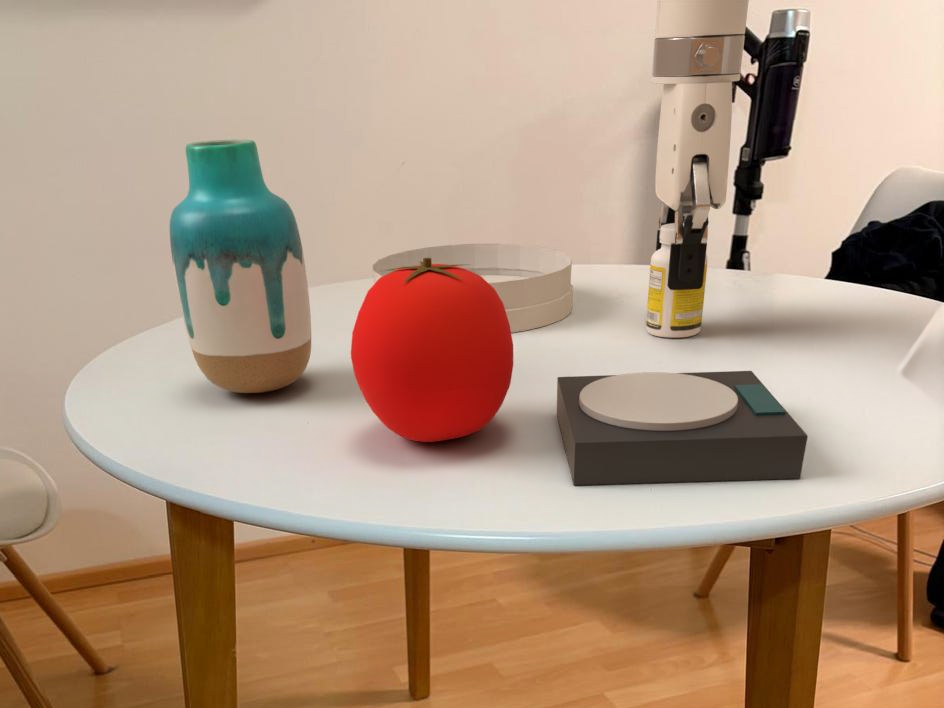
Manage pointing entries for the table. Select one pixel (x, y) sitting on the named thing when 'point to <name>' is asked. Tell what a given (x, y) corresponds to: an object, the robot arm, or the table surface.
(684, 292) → the supplement bottle
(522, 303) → the dish
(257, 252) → the vase
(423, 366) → the tomato
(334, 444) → the table surface
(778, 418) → the scale
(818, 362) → the table surface
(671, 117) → the robot arm
